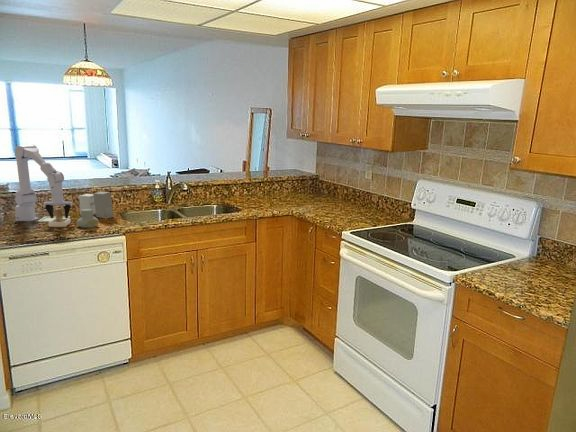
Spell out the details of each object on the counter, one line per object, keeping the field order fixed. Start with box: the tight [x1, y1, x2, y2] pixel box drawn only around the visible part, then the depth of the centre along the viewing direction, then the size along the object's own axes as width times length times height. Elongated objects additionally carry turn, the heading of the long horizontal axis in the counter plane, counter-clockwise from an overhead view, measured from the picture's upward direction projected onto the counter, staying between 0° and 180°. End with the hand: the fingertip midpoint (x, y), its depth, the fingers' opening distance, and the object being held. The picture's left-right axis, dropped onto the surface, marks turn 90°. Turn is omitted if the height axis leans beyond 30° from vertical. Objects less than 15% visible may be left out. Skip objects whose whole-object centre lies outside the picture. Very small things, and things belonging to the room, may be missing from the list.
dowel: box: [55, 207, 63, 222], centre depth 238 cm, size 3×3×9 cm
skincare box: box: [93, 190, 114, 220], centre depth 259 cm, size 8×7×16 cm
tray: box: [36, 215, 71, 223], centre depth 250 cm, size 14×12×1 cm
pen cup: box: [47, 218, 72, 228], centre depth 239 cm, size 9×9×3 cm
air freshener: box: [76, 209, 99, 229], centre depth 237 cm, size 11×8×10 cm
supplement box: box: [78, 193, 96, 216], centre depth 265 cm, size 7×7×13 cm
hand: (59, 218), depth 238 cm, fingers open, 7 cm apart
